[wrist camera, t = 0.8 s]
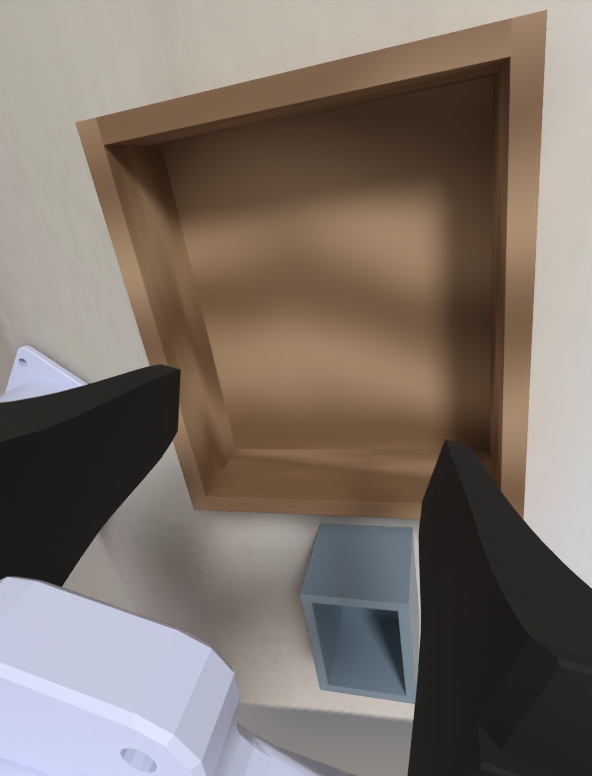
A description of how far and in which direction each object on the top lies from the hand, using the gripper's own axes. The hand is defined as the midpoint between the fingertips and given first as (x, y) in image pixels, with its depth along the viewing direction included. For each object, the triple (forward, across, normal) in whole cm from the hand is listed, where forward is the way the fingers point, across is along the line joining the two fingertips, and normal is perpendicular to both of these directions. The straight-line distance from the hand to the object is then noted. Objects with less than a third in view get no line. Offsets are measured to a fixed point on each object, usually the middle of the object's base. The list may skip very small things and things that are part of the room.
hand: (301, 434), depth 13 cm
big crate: (+10, +1, -1) cm, 10 cm away
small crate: (+10, -4, +14) cm, 18 cm away
